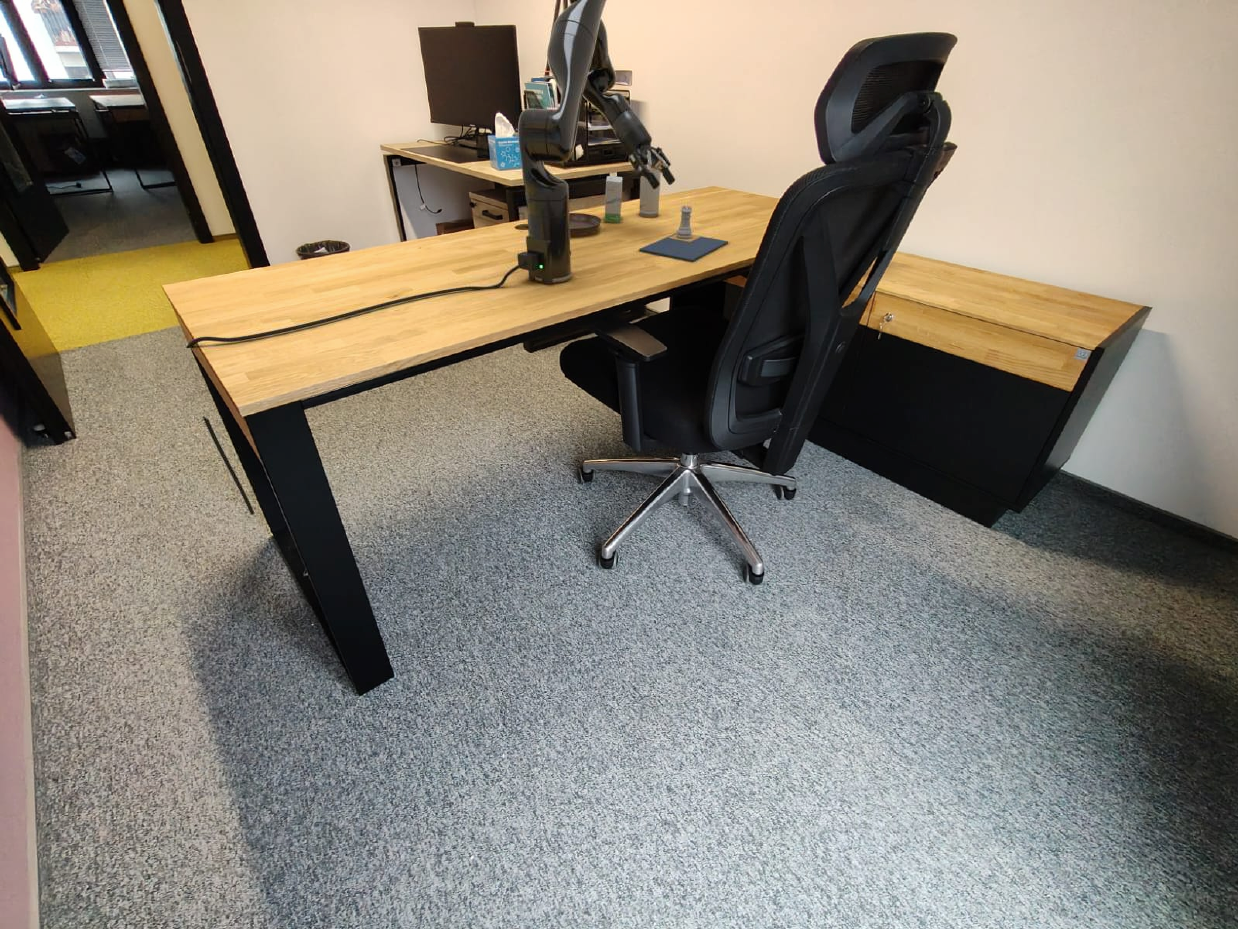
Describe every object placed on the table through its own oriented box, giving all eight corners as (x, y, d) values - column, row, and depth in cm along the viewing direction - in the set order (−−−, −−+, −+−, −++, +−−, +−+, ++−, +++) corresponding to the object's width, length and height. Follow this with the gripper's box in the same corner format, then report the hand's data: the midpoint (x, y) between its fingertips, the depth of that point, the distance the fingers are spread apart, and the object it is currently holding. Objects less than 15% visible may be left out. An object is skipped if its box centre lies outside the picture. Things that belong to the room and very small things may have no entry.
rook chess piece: (681, 234, 161) (683, 204, 157) (694, 236, 159) (697, 206, 155) (673, 237, 159) (675, 206, 154) (686, 239, 156) (689, 209, 152)
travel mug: (637, 217, 181) (640, 146, 169) (640, 212, 186) (643, 143, 174) (657, 218, 180) (661, 147, 168) (659, 213, 185) (663, 144, 173)
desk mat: (692, 262, 143) (692, 258, 142) (639, 251, 149) (639, 247, 149) (728, 243, 158) (728, 240, 157) (678, 234, 164) (678, 231, 164)
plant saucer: (559, 241, 155) (559, 230, 153) (531, 227, 167) (530, 216, 165) (613, 233, 163) (613, 222, 161) (582, 220, 175) (582, 210, 173)
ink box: (605, 216, 181) (605, 175, 174) (621, 216, 181) (622, 176, 174) (604, 222, 174) (604, 180, 167) (621, 223, 174) (622, 181, 167)
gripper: (626, 124, 145) (661, 178, 147) (653, 121, 155) (686, 172, 157) (608, 146, 151) (643, 198, 152) (636, 141, 160) (668, 190, 162)
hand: (665, 184), depth 155 cm, fingers open, 8 cm apart
